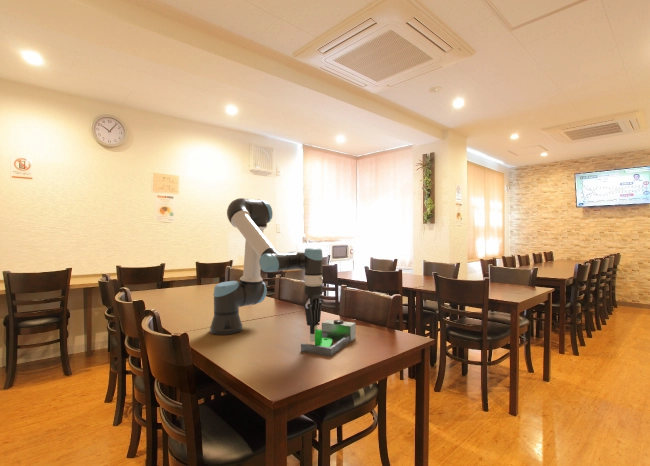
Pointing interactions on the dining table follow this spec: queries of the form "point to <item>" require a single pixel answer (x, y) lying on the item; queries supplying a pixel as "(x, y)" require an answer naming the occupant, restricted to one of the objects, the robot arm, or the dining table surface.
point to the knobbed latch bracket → (333, 337)
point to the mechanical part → (322, 339)
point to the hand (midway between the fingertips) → (313, 340)
